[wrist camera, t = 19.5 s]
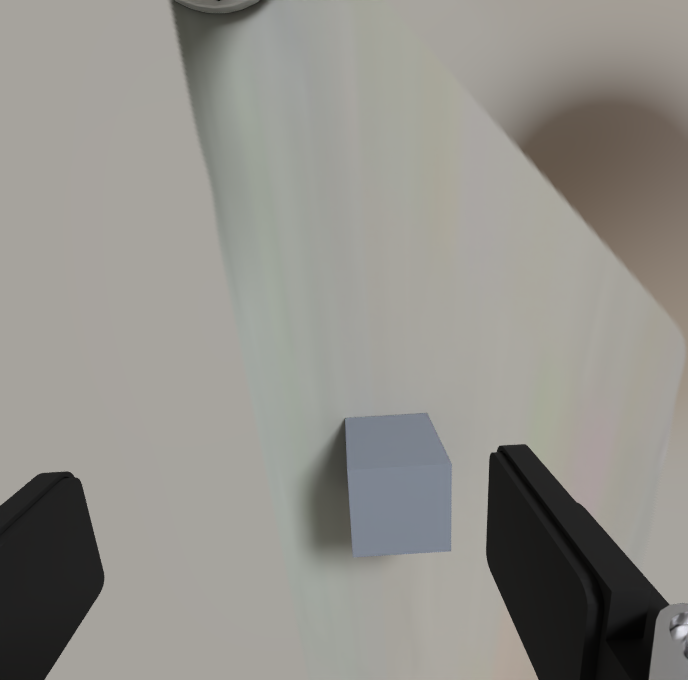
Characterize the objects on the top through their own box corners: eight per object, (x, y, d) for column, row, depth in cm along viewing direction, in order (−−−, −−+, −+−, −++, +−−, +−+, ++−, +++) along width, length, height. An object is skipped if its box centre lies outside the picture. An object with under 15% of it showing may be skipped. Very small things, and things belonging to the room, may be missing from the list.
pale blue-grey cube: (345, 418, 40) (347, 470, 31) (427, 413, 40) (451, 463, 31) (349, 489, 42) (352, 557, 33) (427, 485, 42) (451, 551, 33)
